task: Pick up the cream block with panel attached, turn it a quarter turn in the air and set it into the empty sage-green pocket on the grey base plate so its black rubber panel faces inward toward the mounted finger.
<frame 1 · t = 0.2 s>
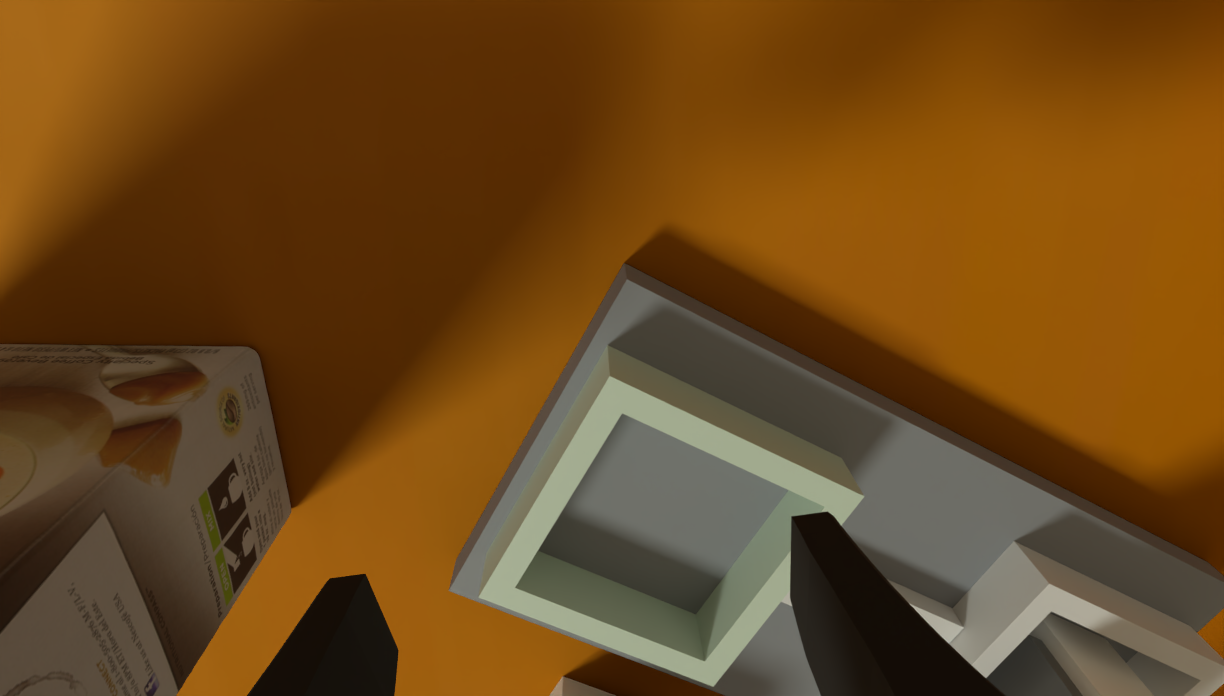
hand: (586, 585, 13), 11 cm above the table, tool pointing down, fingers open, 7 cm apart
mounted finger: (1025, 665, 26), resting on grey base plate
grey base plate: (840, 561, 26), on the table
coffee box: (133, 428, 23), on the table
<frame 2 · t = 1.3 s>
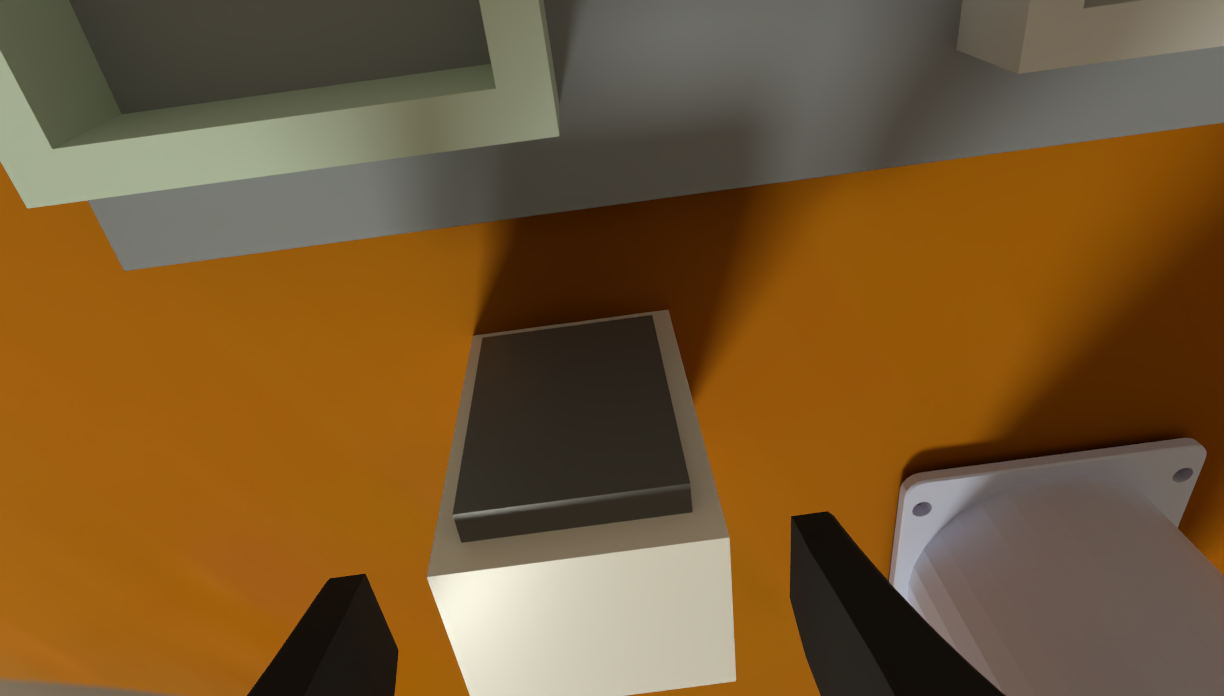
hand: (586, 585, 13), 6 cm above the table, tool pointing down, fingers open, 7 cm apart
cream block with panel: (581, 385, 18), on the table
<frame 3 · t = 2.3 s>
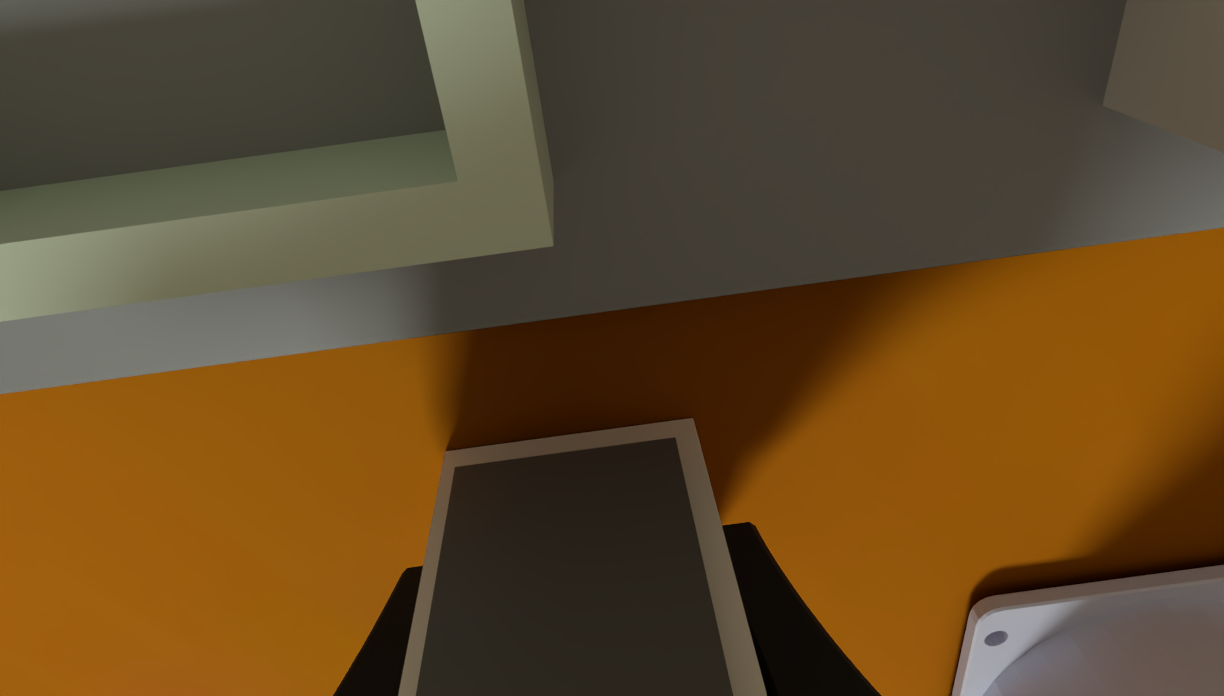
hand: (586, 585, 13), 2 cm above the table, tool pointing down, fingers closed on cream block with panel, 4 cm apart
cream block with panel: (582, 505, 14), on the table, touching gripper
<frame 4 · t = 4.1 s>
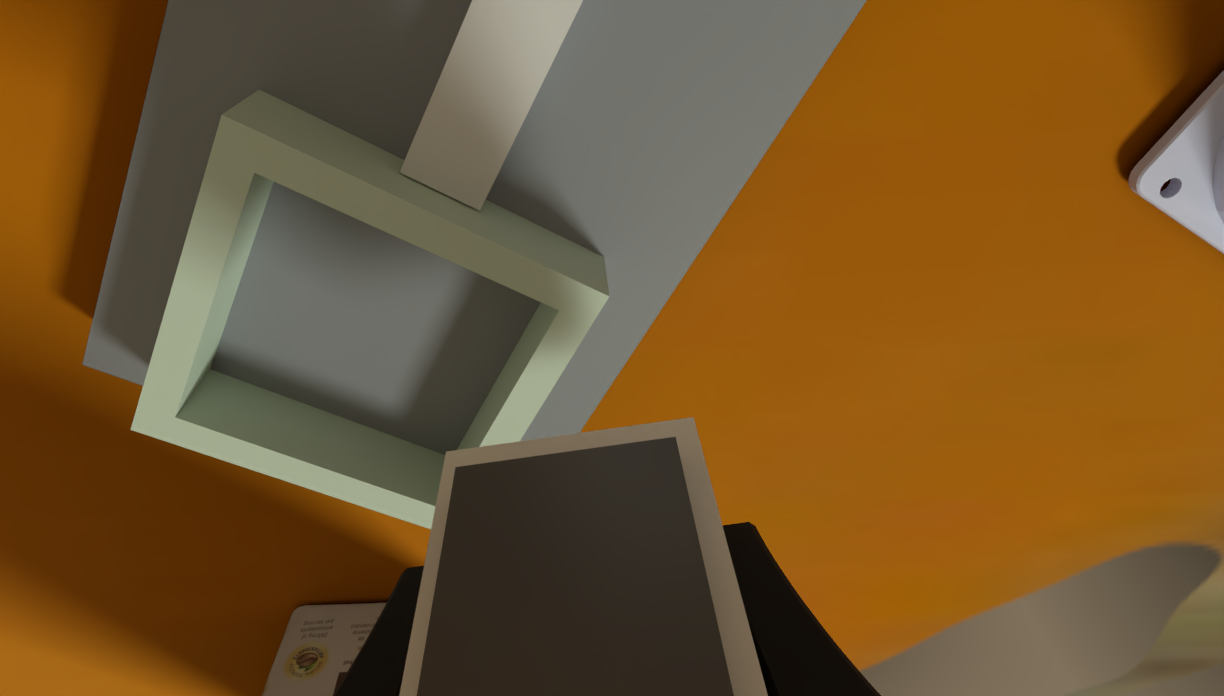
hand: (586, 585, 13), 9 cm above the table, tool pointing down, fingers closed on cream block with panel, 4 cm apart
cream block with panel: (583, 505, 14), point 7 cm above the table, touching gripper
grey base plate: (515, 21, 16), on the table
coffee box: (398, 674, 28), on the table
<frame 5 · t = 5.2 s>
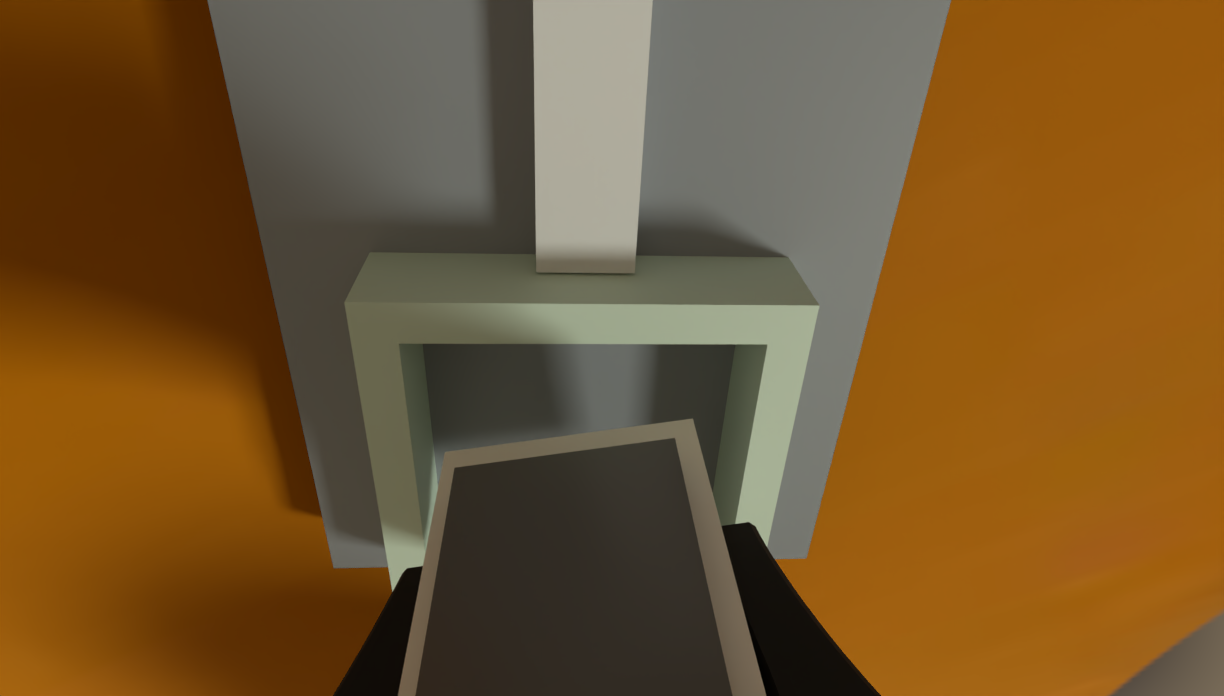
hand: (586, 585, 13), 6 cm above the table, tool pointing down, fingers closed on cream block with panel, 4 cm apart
cream block with panel: (582, 506, 14), point 4 cm above the table, touching gripper
grey base plate: (585, 51, 14), on the table
when the fingers open (4 cm above the table, at t = 6.0 s): cream block with panel stays where it is, resting on grey base plate.
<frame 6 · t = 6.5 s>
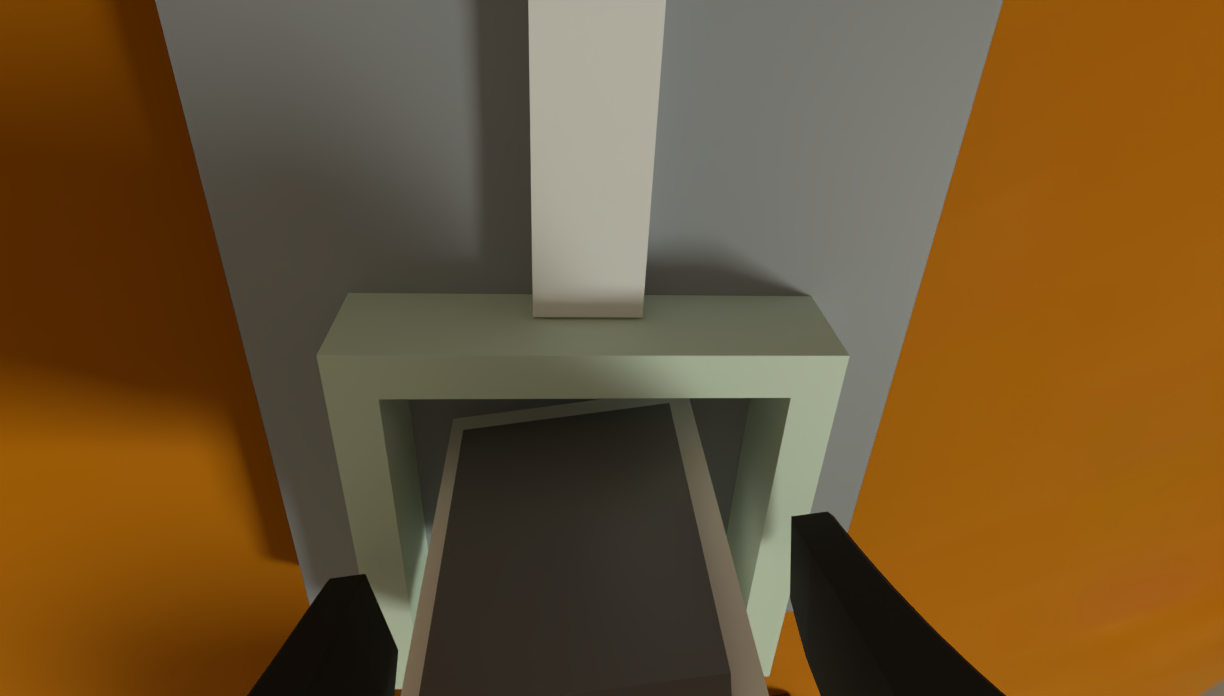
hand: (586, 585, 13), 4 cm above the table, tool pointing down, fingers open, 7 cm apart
cream block with panel: (581, 472, 15), point 1 cm above the table, touching grey base plate
grey base plate: (587, 70, 12), on the table
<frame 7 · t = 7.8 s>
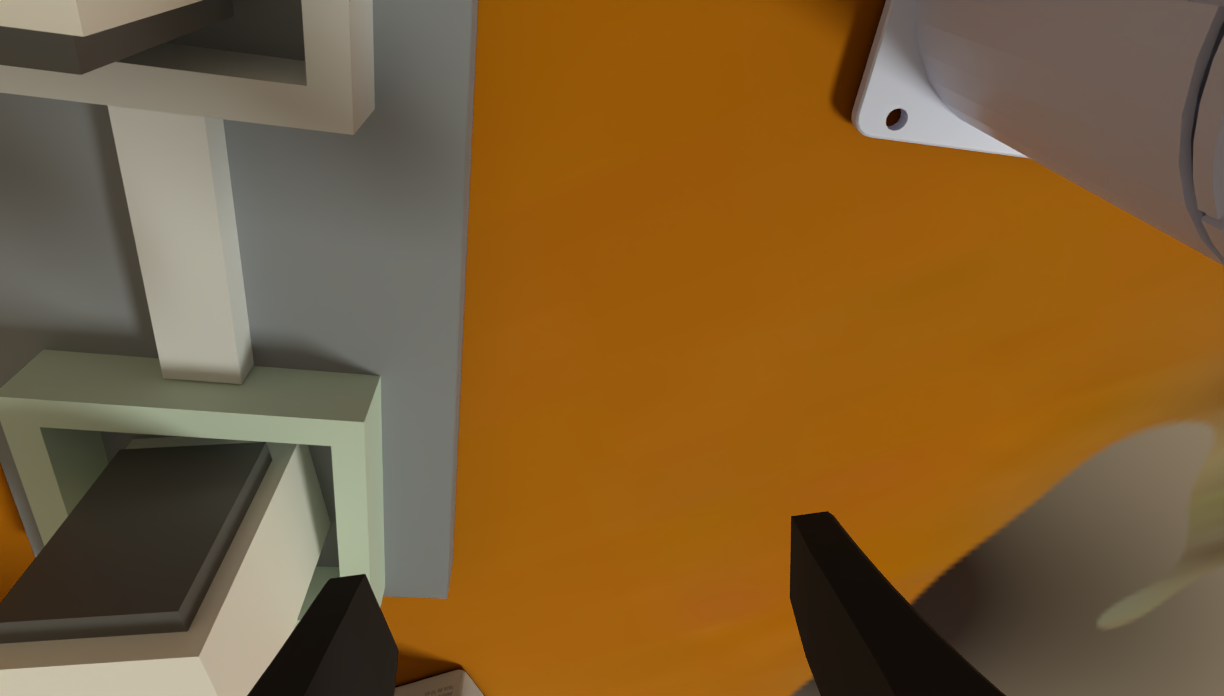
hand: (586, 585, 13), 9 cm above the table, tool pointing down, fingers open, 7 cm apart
cream block with panel: (236, 483, 21), point 1 cm above the table, touching grey base plate
grey base plate: (222, 213, 18), on the table
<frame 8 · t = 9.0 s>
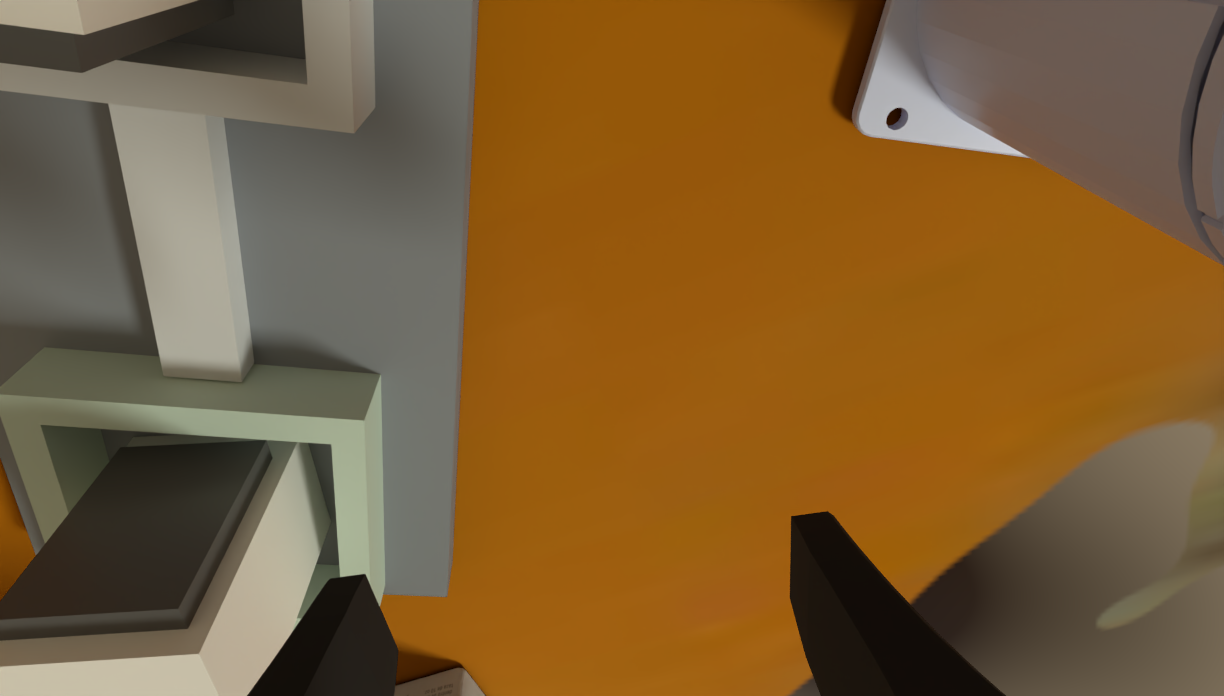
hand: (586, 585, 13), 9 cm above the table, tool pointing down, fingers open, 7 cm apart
cream block with panel: (237, 481, 21), point 1 cm above the table, touching grey base plate
grey base plate: (222, 212, 18), on the table
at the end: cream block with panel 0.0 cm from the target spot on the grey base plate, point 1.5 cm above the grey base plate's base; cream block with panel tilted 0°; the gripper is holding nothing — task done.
